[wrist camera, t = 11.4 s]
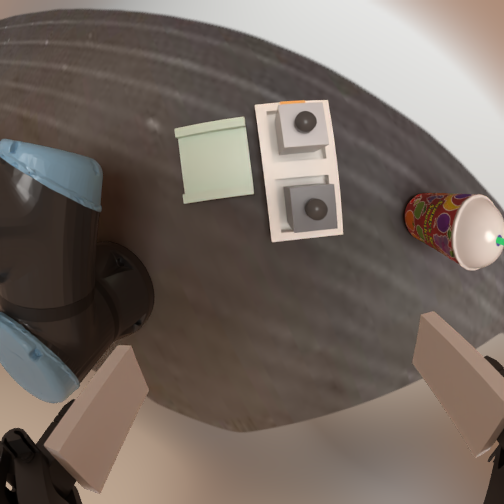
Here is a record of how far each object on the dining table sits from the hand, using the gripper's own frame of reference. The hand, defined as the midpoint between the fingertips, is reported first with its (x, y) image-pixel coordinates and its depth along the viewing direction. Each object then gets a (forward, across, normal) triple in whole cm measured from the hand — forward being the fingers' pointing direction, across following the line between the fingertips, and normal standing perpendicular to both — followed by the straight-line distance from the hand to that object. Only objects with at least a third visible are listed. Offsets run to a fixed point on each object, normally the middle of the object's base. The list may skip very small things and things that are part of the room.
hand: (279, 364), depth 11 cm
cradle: (+27, -6, +11) cm, 29 cm away
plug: (+26, +5, +13) cm, 29 cm away
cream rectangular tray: (+27, +5, +8) cm, 28 cm away
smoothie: (+27, +23, +1) cm, 35 cm away
